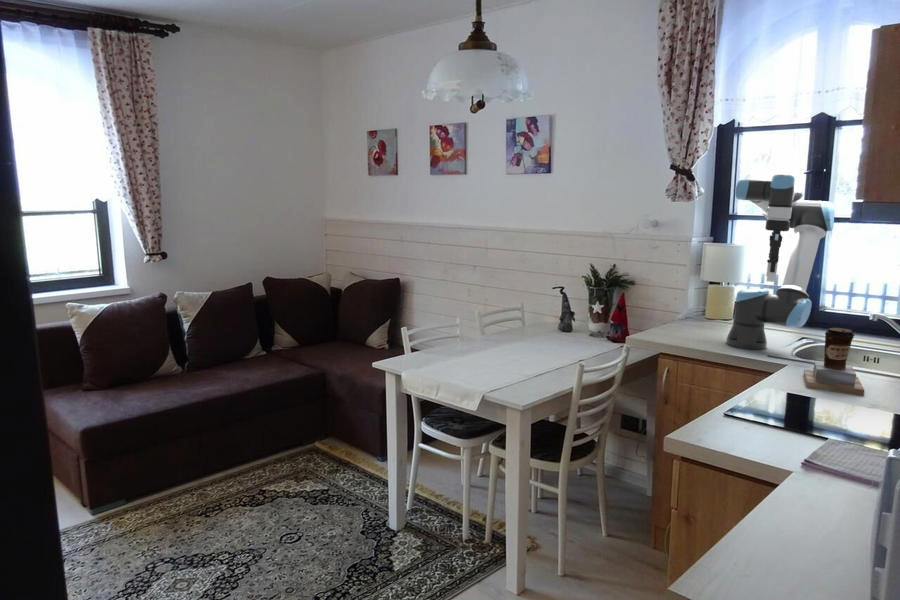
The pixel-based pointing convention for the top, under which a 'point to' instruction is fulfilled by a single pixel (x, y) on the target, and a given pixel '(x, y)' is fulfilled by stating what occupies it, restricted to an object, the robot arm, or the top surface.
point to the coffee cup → (837, 347)
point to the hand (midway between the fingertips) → (770, 279)
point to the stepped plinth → (833, 386)
